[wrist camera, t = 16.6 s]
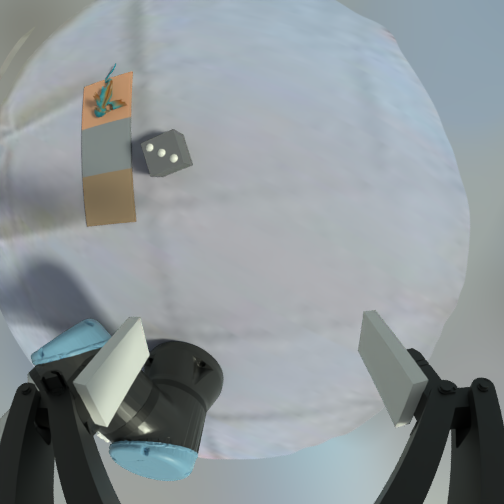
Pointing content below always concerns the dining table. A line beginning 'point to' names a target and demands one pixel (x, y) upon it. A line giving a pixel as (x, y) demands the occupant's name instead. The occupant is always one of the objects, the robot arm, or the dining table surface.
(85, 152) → the game board
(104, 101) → the dragon figurine
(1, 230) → the dining table surface
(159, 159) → the die
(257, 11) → the dining table surface
